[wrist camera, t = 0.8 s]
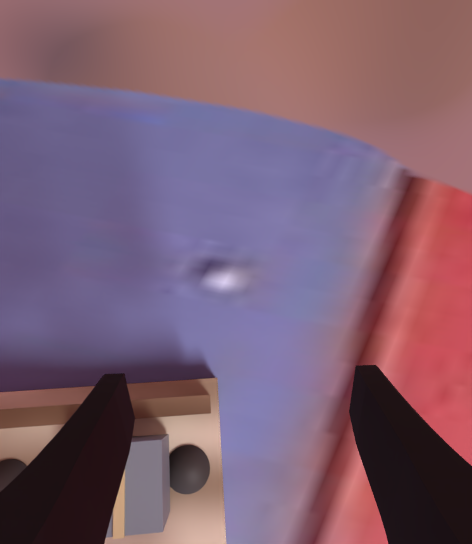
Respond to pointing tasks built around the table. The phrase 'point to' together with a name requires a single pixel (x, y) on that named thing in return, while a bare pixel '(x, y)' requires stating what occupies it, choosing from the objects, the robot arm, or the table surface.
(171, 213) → the table surface
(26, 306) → the table surface
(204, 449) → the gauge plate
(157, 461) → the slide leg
